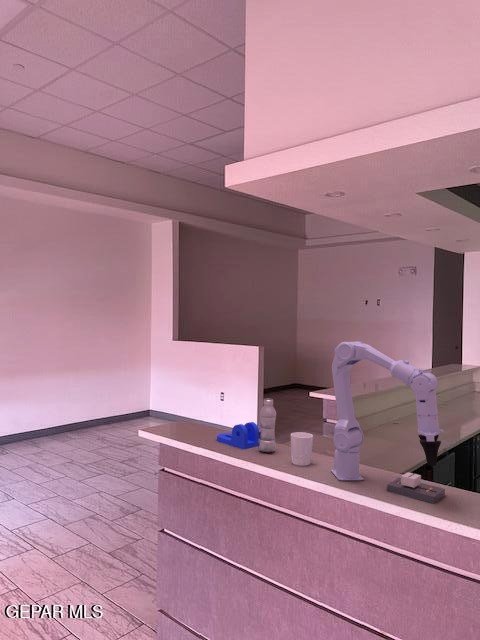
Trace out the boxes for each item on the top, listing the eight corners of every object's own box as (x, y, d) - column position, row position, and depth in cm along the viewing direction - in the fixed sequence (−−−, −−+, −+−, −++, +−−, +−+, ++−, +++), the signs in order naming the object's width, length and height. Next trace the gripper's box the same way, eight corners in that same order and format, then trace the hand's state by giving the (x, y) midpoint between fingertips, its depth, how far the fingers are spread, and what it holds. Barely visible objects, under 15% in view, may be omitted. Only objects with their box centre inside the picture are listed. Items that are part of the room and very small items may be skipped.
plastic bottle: (275, 449, 189) (277, 398, 189) (275, 454, 183) (276, 401, 182) (259, 449, 190) (260, 397, 190) (257, 453, 183) (259, 400, 183)
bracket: (258, 446, 195) (259, 423, 195) (243, 449, 189) (244, 426, 189) (227, 437, 207) (228, 416, 207) (212, 440, 202) (213, 418, 201)
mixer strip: (386, 490, 148) (386, 484, 148) (399, 483, 154) (399, 477, 154) (433, 503, 138) (434, 496, 138) (444, 495, 145) (445, 488, 145)
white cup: (285, 461, 175) (286, 433, 175) (303, 458, 179) (304, 431, 179) (298, 467, 168) (298, 438, 168) (316, 464, 172) (317, 436, 172)
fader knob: (401, 484, 147) (401, 475, 147) (407, 480, 150) (408, 471, 150) (414, 487, 144) (414, 478, 144) (420, 483, 148) (420, 475, 148)
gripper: (444, 418, 134) (448, 468, 134) (440, 411, 148) (443, 456, 147) (417, 418, 137) (421, 468, 136) (415, 411, 150) (419, 456, 149)
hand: (431, 462), depth 142 cm, fingers open, 7 cm apart
